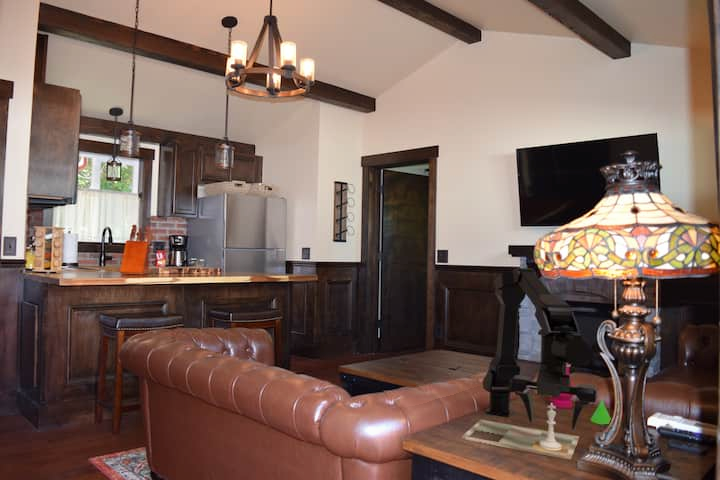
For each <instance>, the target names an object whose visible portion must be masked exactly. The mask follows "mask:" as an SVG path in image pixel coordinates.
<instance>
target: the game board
mask: <svg viewBox="0 0 720 480" xmlns="http://www.w3.org/2000/svg"><path fill="white" fill-rule="evenodd" d="M476 431H478V432H481V431H483V432H482V433H487V432H489V433H488V434H492V433H494V434H493V435H498V434H499V435H498V436H502V437H501V438H500V439H499V441H498V442H497V441H492V440H488V439H481V438H477V437H471V435H473V433H474V432H476ZM547 434H548V430H543V429H538V428H531V427H526V426H520V425H515V424H508V423H502V422H497V421H492V420H491V421H490V420H485V419H480V420H479V421H478V422H476V423H475V424H474V425H473V426H471V427H470V429H468V430H467V431H466V432H465V433H464V434H463V435H462V436H461V440H464V441H470V442H474V443H475V442H476V443H480V442H481V444H485V443H486V445H490V444H491V445H490V446H497V447H502V448H507V449H512V450H517V451H521V452H522V451H524V452H527V453H533V454H538V455H542V456H548V457H552V458H553V457H554V458H559V459H563V460H564V459H565V460H571V459H572V458H573V455H574V452H575V450H576V448H577V444H578V443H579V439H580V436H579V435H573V434H568V433H567V434H566V433H560V432H554V438H555V440H556V442H558V443H560V444H561V447H562V449H561V450H558V451H553V450H547V449H543V448H541V447H540V446H539V444H540V441H542V440H545V439H546V438H547Z"/></svg>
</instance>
